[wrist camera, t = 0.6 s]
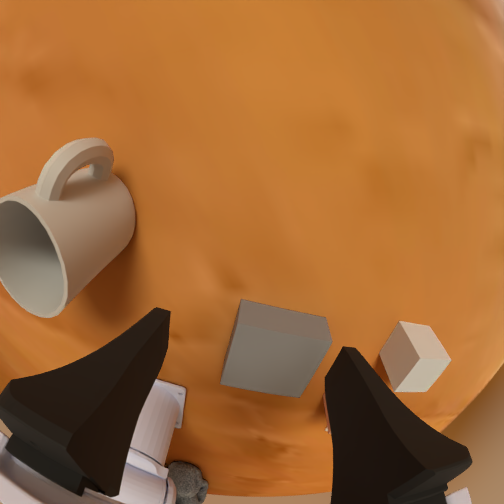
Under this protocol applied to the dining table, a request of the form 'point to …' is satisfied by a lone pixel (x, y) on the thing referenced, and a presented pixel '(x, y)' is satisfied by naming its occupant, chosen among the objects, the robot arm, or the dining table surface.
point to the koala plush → (187, 483)
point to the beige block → (413, 357)
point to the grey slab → (274, 349)
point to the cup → (64, 227)
